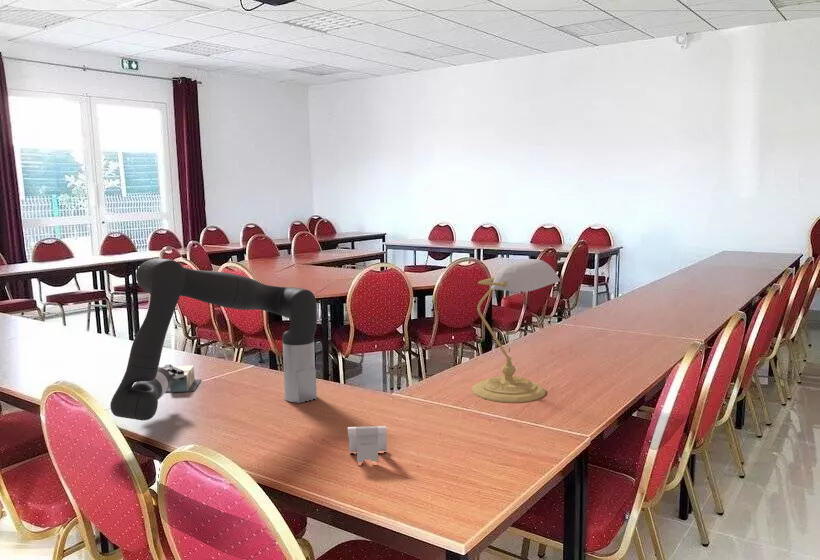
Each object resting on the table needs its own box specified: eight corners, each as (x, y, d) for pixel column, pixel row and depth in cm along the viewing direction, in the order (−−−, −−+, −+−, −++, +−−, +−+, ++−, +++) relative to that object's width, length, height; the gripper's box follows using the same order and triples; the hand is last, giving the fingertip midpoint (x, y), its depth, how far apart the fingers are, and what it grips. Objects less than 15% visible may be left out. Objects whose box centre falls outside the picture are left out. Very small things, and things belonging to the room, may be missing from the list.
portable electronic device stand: (386, 451, 154) (386, 417, 153) (386, 465, 146) (386, 429, 145) (350, 452, 154) (349, 418, 153) (348, 466, 146) (347, 430, 145)
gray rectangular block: (194, 391, 203) (194, 390, 203) (164, 392, 202) (164, 391, 202) (201, 380, 215) (201, 379, 215) (173, 381, 214) (173, 380, 214)
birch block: (186, 375, 201) (193, 365, 213) (169, 376, 201) (178, 366, 213) (187, 391, 202) (194, 380, 214) (170, 391, 201) (178, 380, 213)
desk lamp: (524, 412, 180) (526, 268, 175) (452, 398, 193) (451, 264, 187) (563, 383, 206) (566, 258, 200) (497, 373, 218) (497, 255, 213)
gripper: (178, 370, 174) (191, 354, 191) (126, 372, 173) (145, 356, 190) (179, 397, 175) (193, 379, 192) (128, 399, 174) (146, 381, 191)
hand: (169, 367), depth 191 cm, fingers closed
